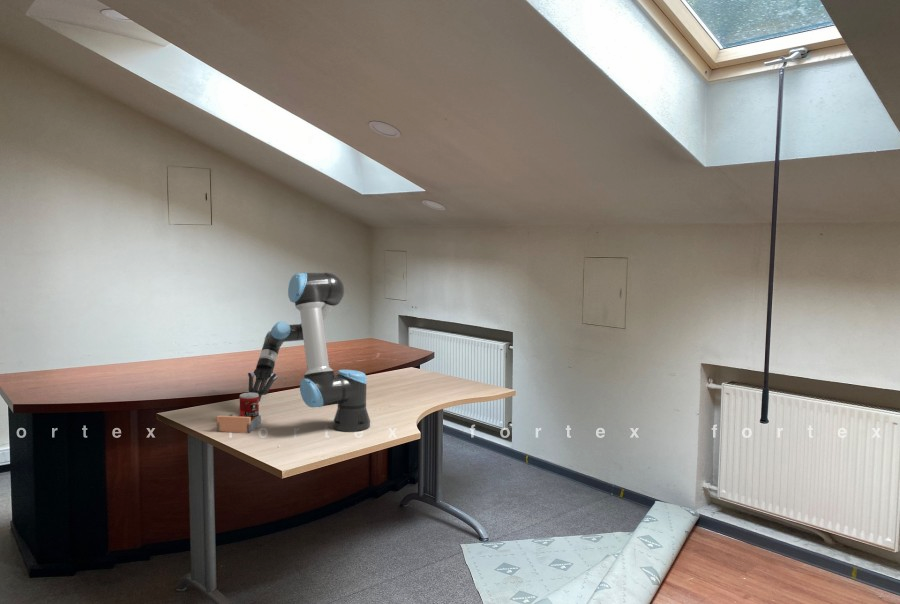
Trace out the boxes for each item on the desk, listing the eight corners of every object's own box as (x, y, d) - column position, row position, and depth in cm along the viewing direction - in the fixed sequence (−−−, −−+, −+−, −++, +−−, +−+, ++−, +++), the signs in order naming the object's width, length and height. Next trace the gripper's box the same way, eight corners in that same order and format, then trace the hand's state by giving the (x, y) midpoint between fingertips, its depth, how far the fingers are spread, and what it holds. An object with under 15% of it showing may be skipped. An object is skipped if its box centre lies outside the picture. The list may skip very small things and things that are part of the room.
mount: (261, 423, 255) (260, 409, 254) (249, 432, 242) (249, 418, 242) (230, 422, 255) (230, 408, 255) (217, 431, 243) (216, 416, 242)
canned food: (245, 424, 254) (245, 398, 252) (236, 419, 259) (235, 394, 258) (262, 420, 259) (262, 395, 258) (253, 416, 265) (252, 391, 263)
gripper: (282, 366, 281) (269, 412, 266) (255, 365, 282) (240, 411, 267) (278, 357, 275) (265, 403, 260) (250, 356, 276) (235, 402, 261)
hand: (252, 407), depth 264 cm, fingers closed
